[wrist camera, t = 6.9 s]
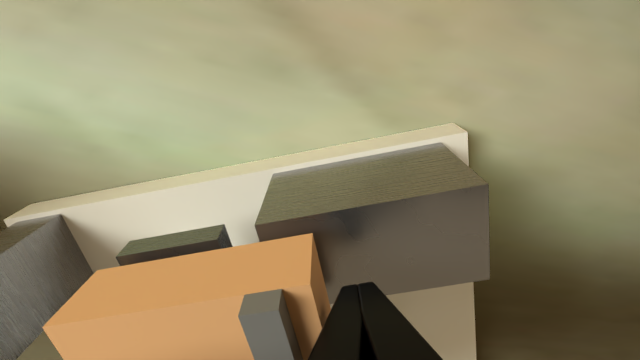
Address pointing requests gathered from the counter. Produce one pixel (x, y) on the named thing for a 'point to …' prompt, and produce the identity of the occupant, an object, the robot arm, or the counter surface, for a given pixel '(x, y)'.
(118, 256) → the grey lever
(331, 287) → the grey piece
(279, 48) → the counter surface
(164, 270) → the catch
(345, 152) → the board
